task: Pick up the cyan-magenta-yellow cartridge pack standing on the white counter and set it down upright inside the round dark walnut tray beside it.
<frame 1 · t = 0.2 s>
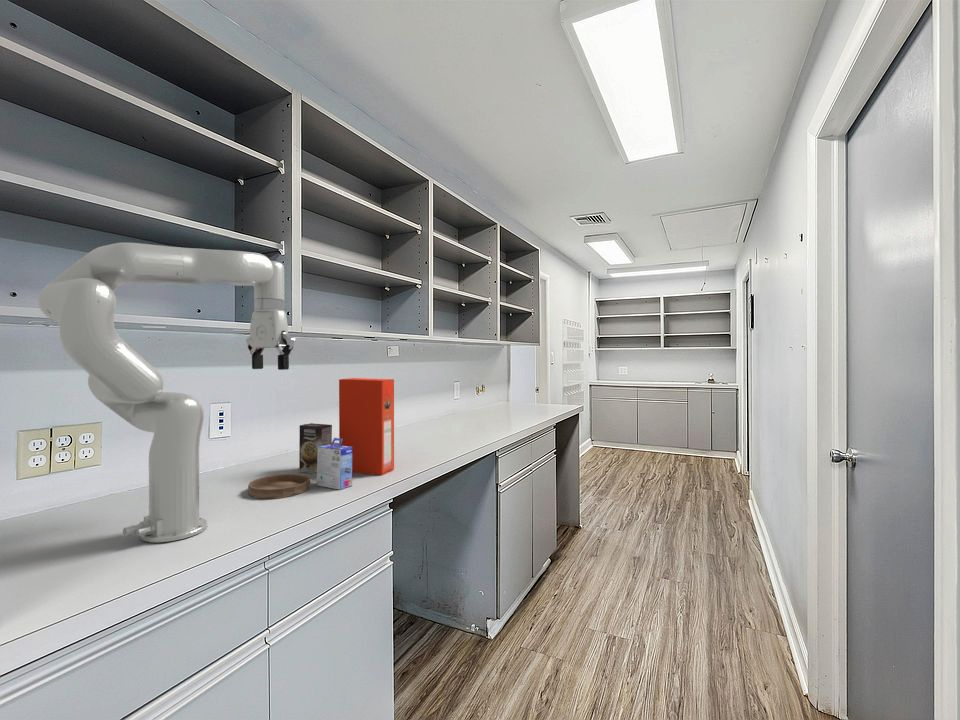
hand: (270, 369, 124), 36 cm above the table, tool pointing down, fingers open, 9 cm apart
ink cartridge box: (334, 486, 140), on the table
round tray: (280, 490, 135), on the table
coffee box: (315, 471, 157), on the table
file binder: (366, 471, 159), on the table
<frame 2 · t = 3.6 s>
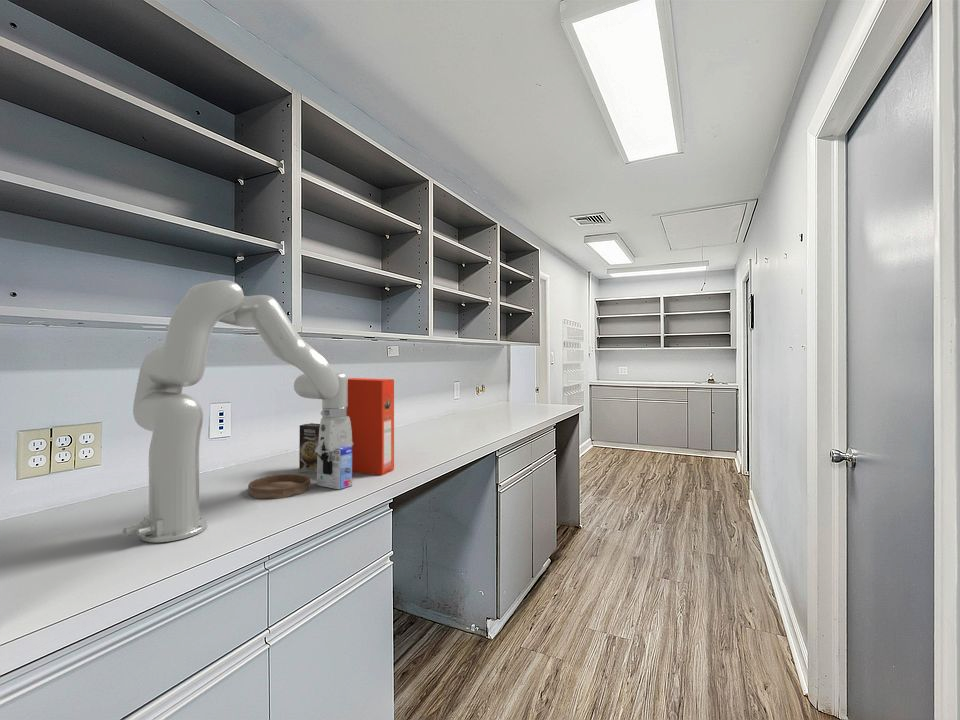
hand: (334, 471, 140), 5 cm above the table, tool pointing down, fingers closed on ink cartridge box, 5 cm apart
ink cartridge box: (334, 486, 140), on the table, touching gripper
everything else where it was.
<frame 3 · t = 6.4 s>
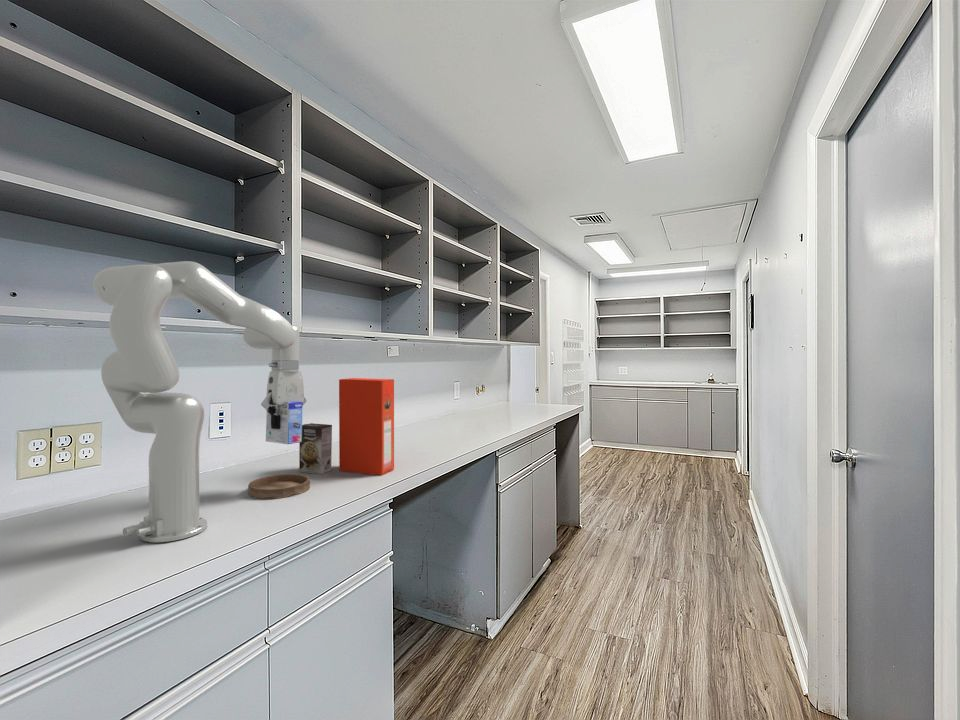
hand: (284, 426, 135), 19 cm above the table, tool pointing down, fingers closed on ink cartridge box, 5 cm apart
ink cartridge box: (284, 442, 135), point 14 cm above the table, touching gripper
everything else where it was.
when the fingers open (6 cm above the table, at t = 9.4 s): ink cartridge box drops 1 cm, resting on round tray.
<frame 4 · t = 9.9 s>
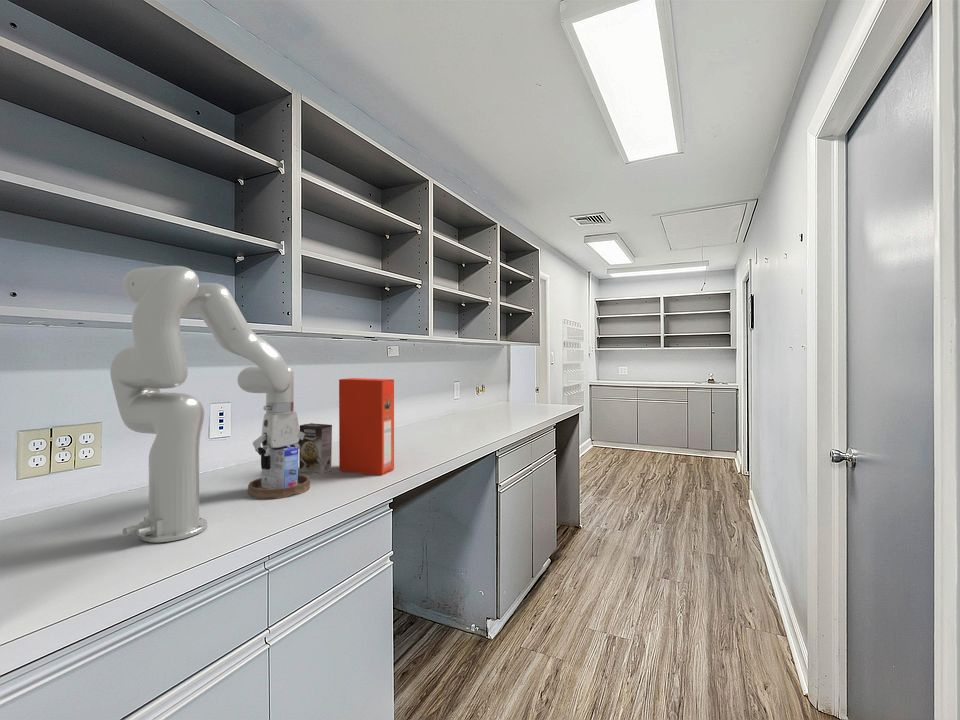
hand: (280, 465, 135), 7 cm above the table, tool pointing down, fingers open, 9 cm apart
ink cartridge box: (280, 488, 135), resting on round tray
everything else where it was.
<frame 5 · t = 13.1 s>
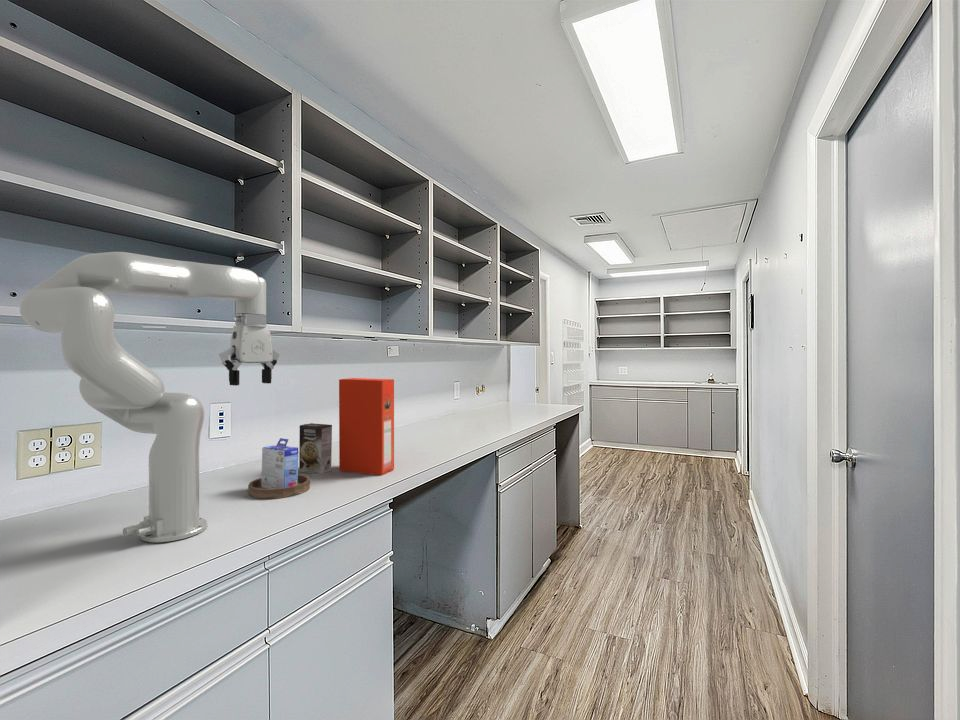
hand: (251, 384, 124), 32 cm above the table, tool pointing down, fingers open, 9 cm apart
nothing on the table moved.
at the end: ink cartridge box inside the target area on the round tray (0.1 cm from its centre), point 0.4 cm above the round tray's base; ink cartridge box tilted 0°; the gripper is holding nothing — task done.
